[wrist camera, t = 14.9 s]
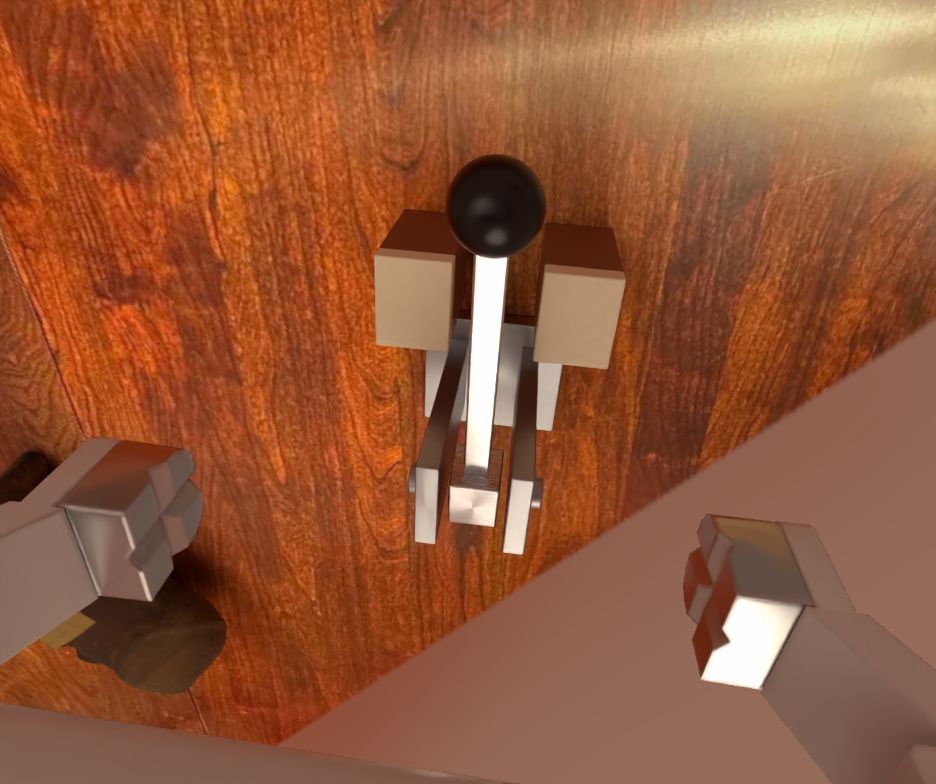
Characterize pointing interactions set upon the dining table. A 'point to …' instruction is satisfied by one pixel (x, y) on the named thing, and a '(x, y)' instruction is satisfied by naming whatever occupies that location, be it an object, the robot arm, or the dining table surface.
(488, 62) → the dining table surface
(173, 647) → the dark brown bag
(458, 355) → the bracket
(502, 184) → the black ball knob lever
